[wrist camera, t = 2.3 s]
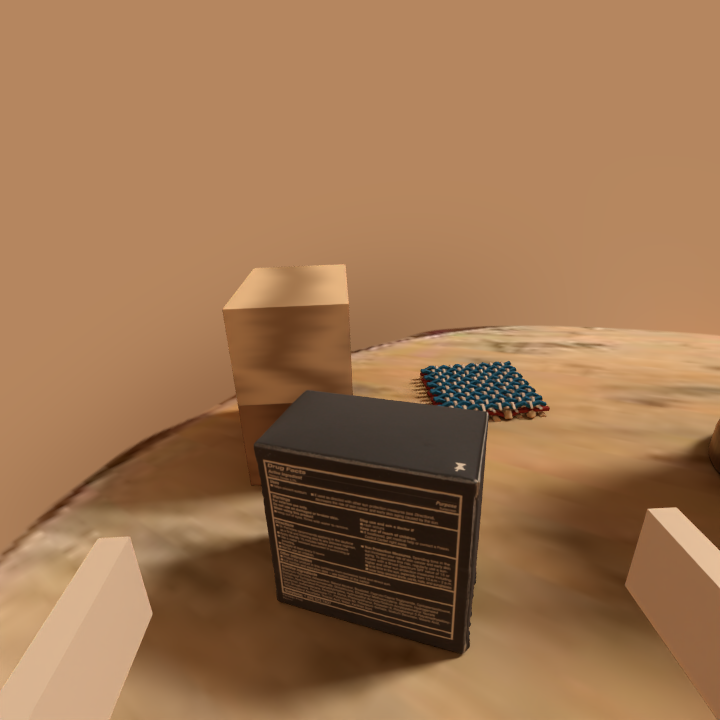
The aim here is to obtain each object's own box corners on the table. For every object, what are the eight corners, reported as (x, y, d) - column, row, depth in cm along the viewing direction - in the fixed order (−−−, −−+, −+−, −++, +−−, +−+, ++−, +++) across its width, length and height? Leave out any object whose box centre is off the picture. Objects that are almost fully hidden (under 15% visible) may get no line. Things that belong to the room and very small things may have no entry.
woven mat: (553, 422, 41) (556, 403, 40) (439, 430, 41) (439, 411, 40) (510, 374, 51) (512, 357, 50) (418, 379, 50) (418, 363, 49)
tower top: (348, 338, 42) (345, 264, 40) (352, 399, 31) (348, 303, 29) (263, 342, 42) (254, 268, 39) (238, 405, 31) (222, 309, 28)
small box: (479, 556, 27) (494, 405, 23) (468, 660, 22) (485, 487, 17) (319, 520, 30) (306, 382, 26) (272, 603, 25) (247, 445, 20)
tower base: (351, 403, 45) (348, 338, 42) (356, 480, 34) (353, 400, 31) (271, 407, 45) (263, 342, 42) (251, 486, 34) (238, 406, 31)
